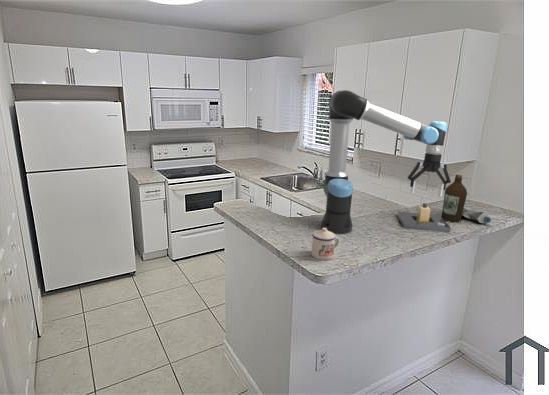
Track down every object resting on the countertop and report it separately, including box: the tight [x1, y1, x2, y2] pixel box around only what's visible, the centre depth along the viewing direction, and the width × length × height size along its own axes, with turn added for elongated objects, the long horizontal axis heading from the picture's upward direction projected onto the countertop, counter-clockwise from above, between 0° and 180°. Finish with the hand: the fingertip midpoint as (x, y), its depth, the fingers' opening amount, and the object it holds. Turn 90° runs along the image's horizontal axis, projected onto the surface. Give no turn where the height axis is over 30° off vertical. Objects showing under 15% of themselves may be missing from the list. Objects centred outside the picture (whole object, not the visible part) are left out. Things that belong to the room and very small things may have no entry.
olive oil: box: [441, 174, 468, 223], centre depth 189 cm, size 11×11×25 cm
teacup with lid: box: [311, 228, 340, 261], centre depth 140 cm, size 12×9×12 cm
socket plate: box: [396, 211, 452, 233], centre depth 184 cm, size 22×20×4 cm
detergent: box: [461, 207, 492, 224], centre depth 194 cm, size 13×7×25 cm
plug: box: [416, 202, 431, 222], centre depth 183 cm, size 4×6×11 cm
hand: (426, 194), depth 180 cm, fingers open, 13 cm apart
